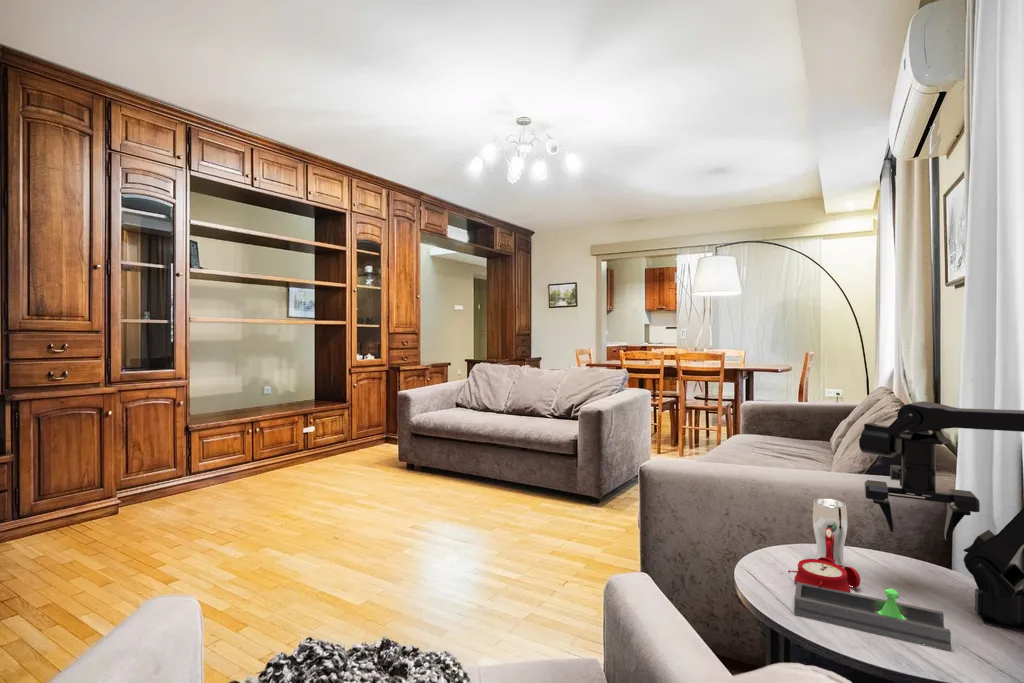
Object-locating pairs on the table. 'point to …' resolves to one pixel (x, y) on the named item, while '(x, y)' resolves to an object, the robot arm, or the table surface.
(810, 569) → the alarm clock
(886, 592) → the game piece
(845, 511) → the beer glass
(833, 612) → the track
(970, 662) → the table surface
